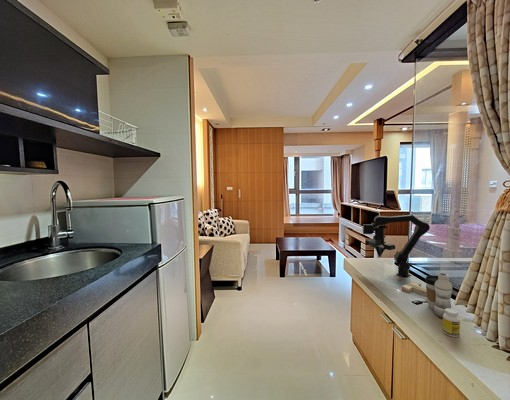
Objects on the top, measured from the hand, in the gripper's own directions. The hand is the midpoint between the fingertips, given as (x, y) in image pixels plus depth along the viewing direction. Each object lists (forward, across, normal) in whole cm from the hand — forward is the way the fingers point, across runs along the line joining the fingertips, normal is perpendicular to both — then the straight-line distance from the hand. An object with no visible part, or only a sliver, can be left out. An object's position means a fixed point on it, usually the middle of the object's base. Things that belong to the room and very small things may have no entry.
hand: (379, 256), depth 158 cm
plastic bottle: (+12, +47, -21) cm, 53 cm away
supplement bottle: (+12, +55, -32) cm, 65 cm away
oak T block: (+12, +28, -5) cm, 31 cm away
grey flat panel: (+12, +21, -5) cm, 25 cm away
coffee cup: (+12, +41, -15) cm, 45 cm away
